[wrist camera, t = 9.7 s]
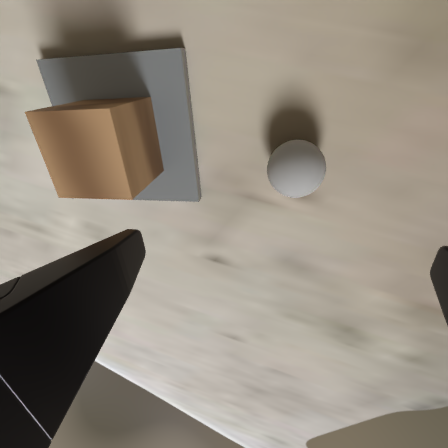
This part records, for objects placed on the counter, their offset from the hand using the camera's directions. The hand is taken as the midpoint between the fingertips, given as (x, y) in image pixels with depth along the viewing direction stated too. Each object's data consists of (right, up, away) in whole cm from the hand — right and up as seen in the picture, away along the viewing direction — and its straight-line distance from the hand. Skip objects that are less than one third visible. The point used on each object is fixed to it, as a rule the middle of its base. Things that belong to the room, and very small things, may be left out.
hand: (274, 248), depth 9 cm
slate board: (-9, +7, +12) cm, 16 cm away
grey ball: (+3, +4, +9) cm, 10 cm away
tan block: (-9, +7, +11) cm, 16 cm away
